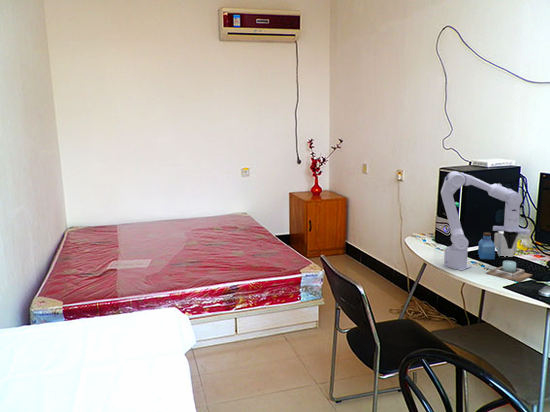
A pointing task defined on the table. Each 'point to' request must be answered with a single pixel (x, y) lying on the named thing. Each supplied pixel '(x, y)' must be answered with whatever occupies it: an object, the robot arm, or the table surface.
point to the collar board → (510, 274)
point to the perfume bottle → (486, 247)
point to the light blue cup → (509, 266)
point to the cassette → (497, 242)
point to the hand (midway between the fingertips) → (510, 248)
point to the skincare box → (503, 246)
